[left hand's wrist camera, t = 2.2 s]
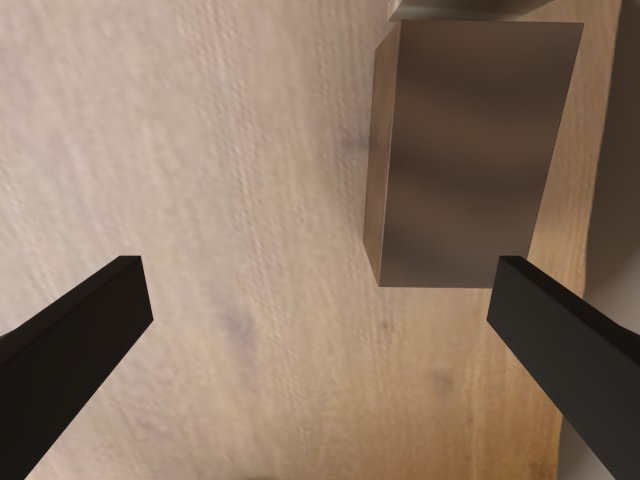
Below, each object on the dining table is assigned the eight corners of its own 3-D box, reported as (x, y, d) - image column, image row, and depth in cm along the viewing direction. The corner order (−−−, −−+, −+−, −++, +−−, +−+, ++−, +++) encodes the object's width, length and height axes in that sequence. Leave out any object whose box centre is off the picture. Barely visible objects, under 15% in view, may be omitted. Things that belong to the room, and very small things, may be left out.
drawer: (395, -102, 23) (426, -189, 17) (527, -99, 24) (609, -184, 17) (373, 203, 31) (388, 227, 24) (473, 205, 31) (516, 229, 24)
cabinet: (375, 49, 27) (400, 18, 19) (502, 51, 28) (585, 22, 19) (362, 243, 33) (378, 287, 25) (468, 244, 33) (520, 289, 25)
